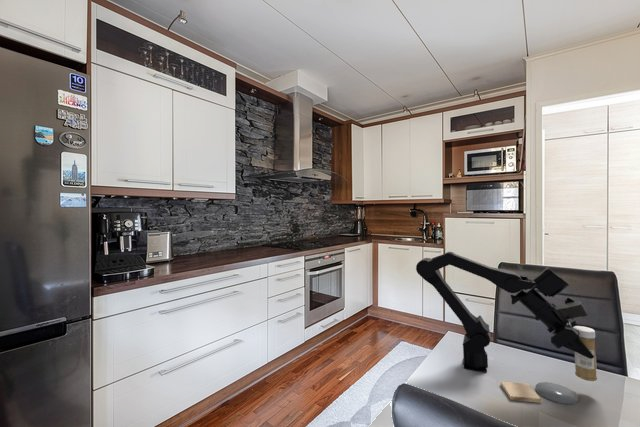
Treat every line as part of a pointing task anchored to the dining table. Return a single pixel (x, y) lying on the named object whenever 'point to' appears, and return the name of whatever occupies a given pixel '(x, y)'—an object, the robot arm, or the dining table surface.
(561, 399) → the coaster
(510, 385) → the tan square cloth
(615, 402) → the dining table surface
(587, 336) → the sprinkles bottle
